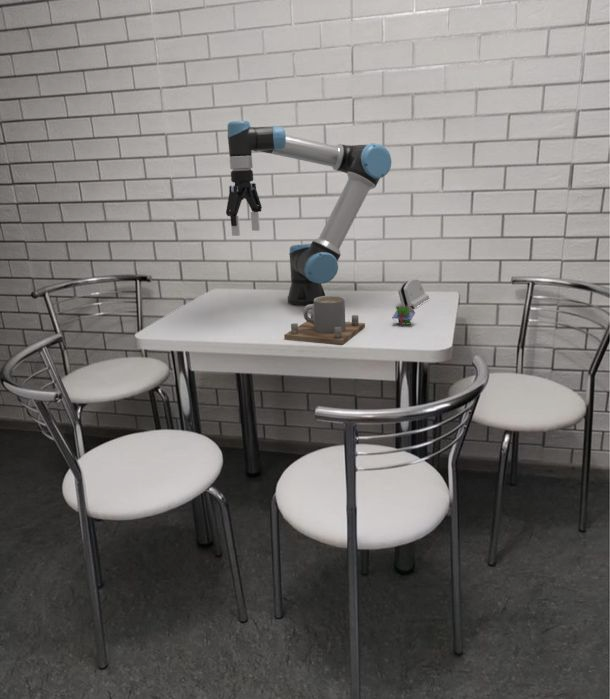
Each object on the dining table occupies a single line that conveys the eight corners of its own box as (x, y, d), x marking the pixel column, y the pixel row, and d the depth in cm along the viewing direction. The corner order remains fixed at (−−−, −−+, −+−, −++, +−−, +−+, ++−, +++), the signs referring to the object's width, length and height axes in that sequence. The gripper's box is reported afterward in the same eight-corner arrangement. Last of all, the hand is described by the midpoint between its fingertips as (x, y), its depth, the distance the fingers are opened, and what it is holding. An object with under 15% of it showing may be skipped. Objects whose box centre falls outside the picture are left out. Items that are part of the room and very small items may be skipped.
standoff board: (310, 323, 210) (310, 310, 209) (364, 327, 202) (364, 314, 201) (284, 339, 193) (283, 325, 192) (342, 344, 185) (342, 330, 184)
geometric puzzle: (407, 323, 197) (413, 301, 199) (388, 321, 200) (393, 299, 202) (413, 331, 203) (418, 309, 205) (394, 329, 206) (399, 307, 208)
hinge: (415, 309, 222) (406, 283, 221) (403, 312, 225) (395, 287, 224) (430, 299, 236) (422, 275, 235) (419, 302, 239) (411, 278, 238)
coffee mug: (348, 325, 200) (348, 296, 197) (340, 334, 191) (339, 303, 188) (310, 323, 204) (309, 294, 201) (300, 332, 195) (299, 301, 192)
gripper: (250, 168, 217) (254, 228, 224) (211, 171, 196) (217, 237, 202) (268, 168, 214) (272, 228, 221) (231, 171, 193) (236, 238, 199)
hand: (246, 233), depth 212 cm, fingers open, 13 cm apart
